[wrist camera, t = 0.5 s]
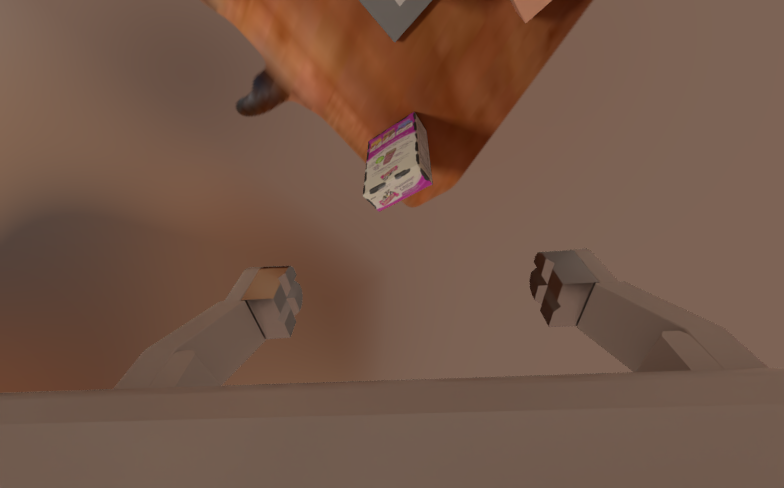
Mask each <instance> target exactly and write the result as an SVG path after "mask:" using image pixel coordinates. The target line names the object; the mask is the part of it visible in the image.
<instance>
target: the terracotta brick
mask: <svg viewBox="0 0 784 488" xmlns="http://www.w3.org/2000/svg"><path fill="white" fill-rule="evenodd" d="M510 1H511V3H512V5H513V7H514V8H515V10H516V12H517V14H518V15H519V16H520V17H521V18H522V20H523V21H524V22H525V23H527V22H528V21H529V20H530V19H531V18H533V17H534V16H535V15H536V14H537V13H538V12H539V11H541V10H542V9H543V8H544V7H545V6H546V5H547V4H549V3H550V2H551V1H552V0H510Z"/></svg>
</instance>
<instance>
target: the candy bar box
mask: <svg viewBox="0 0 784 488" xmlns="http://www.w3.org/2000/svg"><path fill="white" fill-rule="evenodd" d="M431 185H433V181H432V173H431V164H430V157H429V148H428V139H427V131H426V129H425V127H424V126H423V125H422V123H421V121H420V120H419V118H418V117H417V115H416V113H415V112H413V113H411V114H410V115H408V116H407V117H405V118H404V119H402V120H401V121H399V122H398V123H396V124H395V125H393V126H392V127H390V128H389V129H387V130H386V131H384V132H382V133H381V134H379V135H378V136H376V137H375V138H373V139H372V140H370V141H369V142H368V152H367V161H366V171H365V181H364V189H363V196H364V198H366V199H367V200H368V201H369V202H370V203H371V204H372V205H373V206H375V208H376V209H377V210H378V211H379V212H380V211H382V210H384V209H386V208H388V207H390V206H392V205H393V204H395V203H397V202H399V201H401V200H403V199H405V198H407V197H409V196H411V195H413V194H415V193H417V192H419V191H421V190H423V189H425V188H427V187H429V186H431Z"/></svg>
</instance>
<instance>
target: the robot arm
mask: <svg viewBox="0 0 784 488" xmlns="http://www.w3.org/2000/svg"><path fill="white" fill-rule="evenodd" d="M534 263H535V265H536V267H537V268H535V269H534V270H533V271H532V272H531V275H530V290H531V293H532V296H533V298H534V300H535V301H537V302H538V303H540V304H541V309H540V311H541V313H542V315H543V317H544V319H545V321H546V323H547V324H548V326H549V327H560V326H577V328H578V329H579V330H581V331H582V332H583V333H584V334H586V335H587V336H588V337H589V338H591V339H592V340H593V341H595V342H596V343H597V344H598V345H600V346H601V347H602V348H604V349H605V350H606V351H607V352H609V353H610V354H611V355H613V356H614V357H615V358H617V359H618V360H619V361H620V362H622V363H623V364H624V365H625V366H627V367H628V368H629V369H631V370H632V371H633V372H629V373H628V372H627V373H598V374H597V373H596V374H565V375H537V376H536V375H535V376H505V377H479V378H477V377H475V378H447V379H446V378H444V379H413V380H381V381H350V382H321V383H290V384H259V385H227V386H221V385H222V384H223V383H224V382H225V381H226V380H227V379H228V378H229V377H230V376H231V375H232V374H233V373H234V372H235V371H236V370H237V369H238V368H239V367H240V366H241V365H242V364H243V363H244V362H245V361H246V360H247V359H248V358H249V357H250V356H251V355H252V354H253V353H254V352H255V351H256V350H257V349H258V348H259V347H260V346H261V345H262V344H263V342H264V341H265V339H276V338H289V337H291V334H292V332H293V329H294V326H295V323H296V320H295V317H294V316H295V315H296V314H297V313H298V312H299V311H300V309H301V305H302V289H301V287H300V284H298V283H297V282H296V281H294V280H295V277H296V273H295V270H294V268H293V267H291V266H277V267H276V266H273V267H253V268H252V267H251V268H247V269H245V270H244V272H243V273H242V275H241V277H240V278H239V280H238V281H237V282H236V284H235V286H234V287H233V289H232V290H231V292H230V293H229V295H228V296H227V298H226V299H225V301H224V302H218V303H217V304H215V305H214V306H212V307H211V308H209V309H208V310H206V311H205V312H203V313H201V314H200V315H198V316H197V317H195V318H194V319H192V320H191V321H189V322H188V323H186V324H184V325H183V326H181V327H180V328H178V329H177V330H175V331H174V332H172V333H171V334H169V335H167V336H166V337H164V338H163V339H161V340H160V341H158V342H157V343H155V344H154V345H152V346H151V347H149V348H147V349H146V350H144V351H143V353H142V354H141V355H140V356H139V358H138V359H137V360H136V361H135V363H134V364H133V365H132V366H131V368H130V369H129V370H128V371H127V372H126V374H125V375H124V376H123V377H122V379H121V380H120V381H119V382H118V384H117V385H116V386H115V387H114V389H106V390H76V391H50V392H49V391H46V392H16V393H0V488H784V368H768V367H767V366H766V365H765V364H764V363H763V362H762V361H761V360H760V359H758V358H757V357H756V356H755V355H754V354H753V353H752V352H751V351H749V350H748V349H747V348H746V347H745V346H744V345H743V344H742V343H741V342H740V341H738V340H737V339H736V338H735V337H734V336H733V335H732V334H731V333H729V332H728V331H727V330H726V329H725V328H723V327H721V326H719V325H717V324H715V323H713V322H711V321H708V320H706V319H704V318H702V317H700V316H698V315H695V314H693V313H691V312H689V311H687V310H685V309H683V308H681V307H678V306H676V305H674V304H672V303H670V302H668V301H665V300H663V299H661V298H659V297H657V296H654V295H652V294H650V293H648V292H646V291H644V290H642V289H639V288H637V287H635V286H633V285H631V284H629V283H627V282H619V281H618V280H617V279H616V278H615V276H613V274H612V273H611V272H610V271H609V270H608V269H607V268H606V267H605V265H604V264H603V263H602V262H601V261H600V260H599V259H598V258H597V257H596V256H595V255H594V253H593V252H592V251H591V250H589V249H587V248H586V249H573V250H566V251H550V252H538V253H537V254H536V256H535V260H534Z"/></svg>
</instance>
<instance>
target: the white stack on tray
mask: <svg viewBox="0 0 784 488" xmlns="http://www.w3.org/2000/svg"><path fill="white" fill-rule="evenodd" d="M359 1H360V2H361V3H362V4H363V6H364V7H365V8H366V9H367V10H368V12H369V13H370V14H371V15H372V16H373V17H374V19H375V20H376V21H377V22H378V23H379V25H380V26H381V27H382V28H383V29H384V30H385V32H386V33H387V34H388V35H389V36H390V37H391V39H392V40H393V41H394V42H396V41H397V40H398V38H399V37H400V36H401V35H402V34H403V33H404V32H405V30H406V29H407V28H408V27H409V26H410V25H411V24H412V22H413V21H414V20H415V19H416V18H417V17H418V16H419V15H420V13H421V12H422V11H423V10H424V9H425V8H426V7H427V5H428V4H429V3H430V2H431V1H432V0H359Z"/></svg>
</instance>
